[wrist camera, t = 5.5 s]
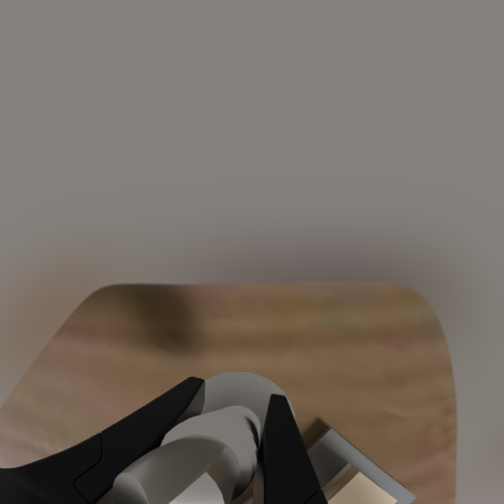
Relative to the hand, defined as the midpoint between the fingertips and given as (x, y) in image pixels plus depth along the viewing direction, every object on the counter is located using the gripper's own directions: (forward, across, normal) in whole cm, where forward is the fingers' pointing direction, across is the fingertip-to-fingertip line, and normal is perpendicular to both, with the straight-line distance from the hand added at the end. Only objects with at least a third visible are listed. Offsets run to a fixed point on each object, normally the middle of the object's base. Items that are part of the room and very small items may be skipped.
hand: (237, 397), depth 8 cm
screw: (+4, 0, +6) cm, 7 cm away
